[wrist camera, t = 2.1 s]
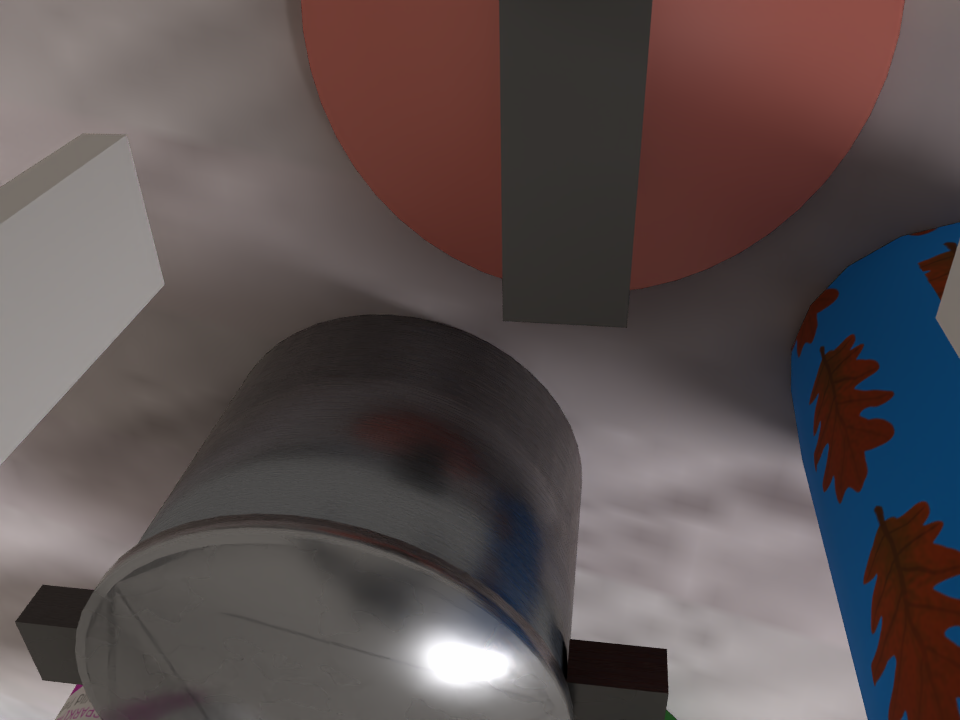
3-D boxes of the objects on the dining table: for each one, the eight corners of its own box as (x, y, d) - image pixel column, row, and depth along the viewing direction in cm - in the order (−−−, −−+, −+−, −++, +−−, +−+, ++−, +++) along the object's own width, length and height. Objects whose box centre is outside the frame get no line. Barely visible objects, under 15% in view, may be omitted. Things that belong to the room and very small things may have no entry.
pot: (674, 323, 31) (694, 573, 21) (641, 617, 40) (643, 894, 30) (126, 294, 34) (-83, 502, 24) (205, 574, 42) (74, 814, 32)
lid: (969, -357, 20) (1180, -448, 13) (828, 283, 30) (898, 462, 22) (276, -323, 23) (88, -381, 15) (347, 262, 32) (254, 415, 24)
